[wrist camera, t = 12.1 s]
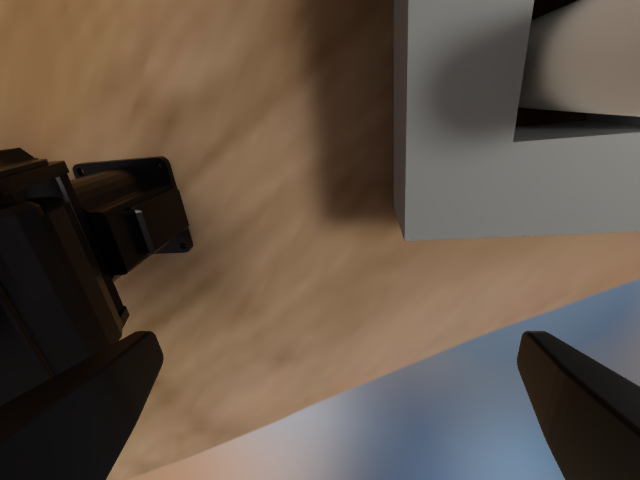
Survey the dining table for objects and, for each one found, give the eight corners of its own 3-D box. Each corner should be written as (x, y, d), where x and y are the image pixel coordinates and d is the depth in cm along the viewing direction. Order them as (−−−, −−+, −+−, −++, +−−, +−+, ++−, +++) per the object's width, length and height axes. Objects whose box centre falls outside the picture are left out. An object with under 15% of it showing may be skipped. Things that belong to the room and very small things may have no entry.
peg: (489, 111, 17) (641, 129, 8) (499, 22, 15) (708, -88, 6) (571, 104, 16) (841, 114, 7) (591, 10, 15) (973, -130, 5)
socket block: (393, 207, 19) (404, 240, 15) (393, -96, 14) (411, -190, 9) (649, 193, 17) (750, 226, 13) (772, -166, 12) (1029, -329, 7)
